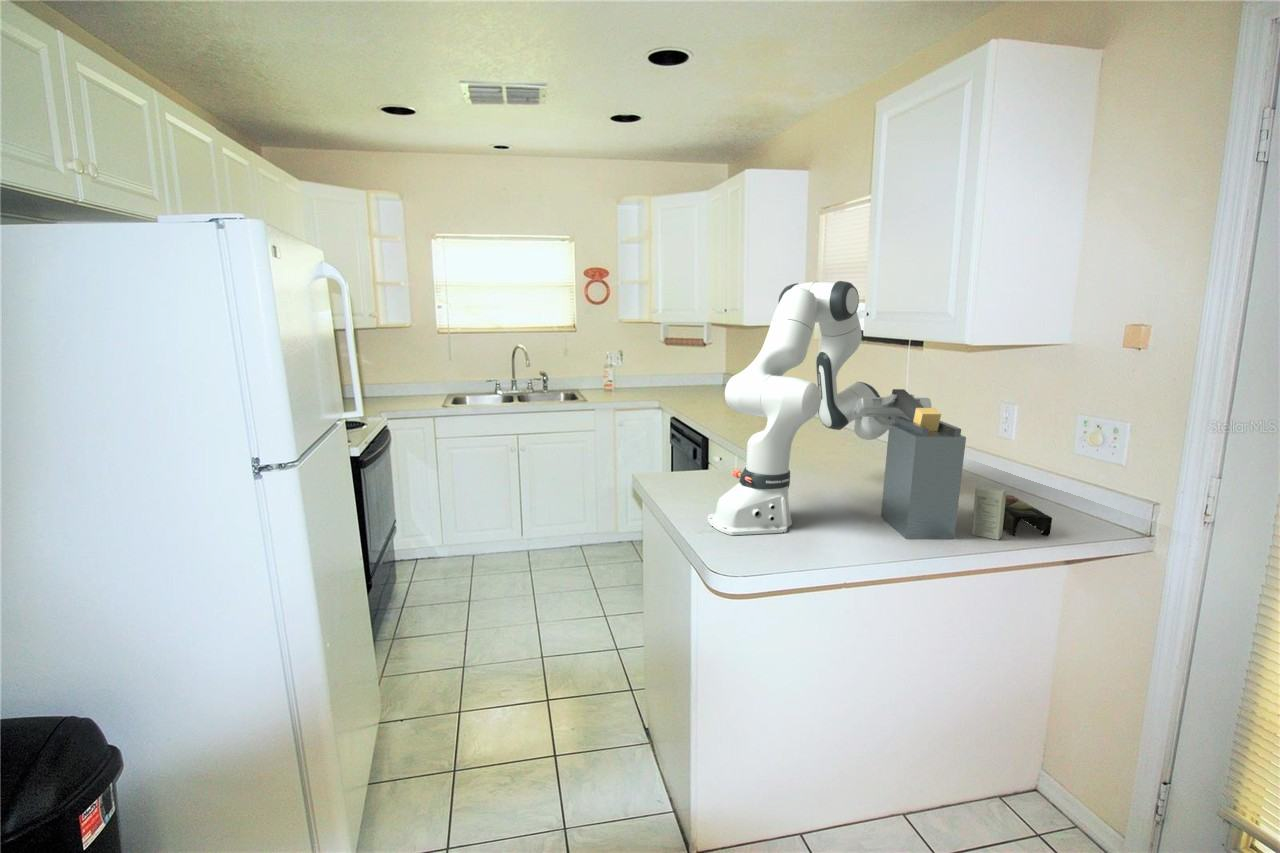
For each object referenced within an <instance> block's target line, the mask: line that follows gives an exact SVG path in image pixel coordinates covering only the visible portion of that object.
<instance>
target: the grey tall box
mask: <svg viewBox="0 0 1280 853" xmlns="http://www.w3.org/2000/svg"><path fill="white" fill-rule="evenodd" d="M966 443H967V437H966V436H964V435H962V428H959V427H957V426H956V425H953V424H950V423H947V422H946V421H945V422H944V421H943V420H940V422H939V426H938V431H929V428H927V427H924V426H922V425H920V424H917V423H915V422H913V421H910V420H908V419H906V418H903V417H901V416H895V424H889V430H888V436H887V447H886V459H885V469H884V478H883V490H882V491H883V492H882V502H881V510H880V511H881V512H880V518H881V519H883V520H884V522H886V523H887V524H888V525H889V526H891V527H892V528H893V529H894V530H895V531H896V532H898V533H899V535H901V536H902V537H903V538H904V539H906V540H955V536H956V535H955V534H956V526H957V517H958V511H959V501H960V500H959V499H960V492H961V483H962V478H963V477H962V475H963V469H964V468H963V467H964V459H965V449H966Z"/></svg>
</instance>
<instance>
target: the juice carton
mask: <svg viewBox="0 0 1280 853" xmlns="http://www.w3.org/2000/svg"><path fill="white" fill-rule="evenodd" d="M1022 519H1023V520H1024V521H1026V522H1028V523H1029V524H1031V525H1032V526H1034V527H1035V529H1036V530H1037V529H1038V530H1037V531H1039V530H1040V531H1042V532H1041V533H1040V536H1045V537H1050V534H1051V529H1052V521H1053V517H1052V516H1050V515H1048V514H1045V513H1044V512H1043V511H1041V510H1039V509H1037V508H1036V507H1034V506H1032V505H1029V504H1028V503H1026V502H1025V501H1023V500H1021V499H1019V498H1018V497H1016V496H1014V495H1010V494H1006V501H1005V511H1004V521H1003V531H1004V530H1005V531H1006V533H1007V534H1008V533H1009V534H1008V535H1010V536H1011V535H1012V536H1011V537H1014V536H1015V533H1016V530H1017V529H1018V526H1019V523H1020V522H1022ZM1024 521H1023V522H1024ZM1026 522H1025V523H1026ZM1028 523H1027V524H1028ZM1029 524H1028V525H1029ZM1031 525H1030V526H1031ZM1032 526H1031V527H1032ZM1005 531H1004V532H1005ZM1040 531H1039V532H1040Z"/></svg>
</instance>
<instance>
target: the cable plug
mask: <svg viewBox="0 0 1280 853" xmlns="http://www.w3.org/2000/svg"><path fill="white" fill-rule="evenodd" d="M891 394H897V395H898V396H897V397H898V400H897V401H896V402H893V403H894V404H895V405H896V406H897V407H898V408H899V409H900V410H901V411H902V412H903V413H904V414H905V415H906V416H907V417H908V418H909V419H910V420H911V421H913V422H915V423H917V424H920V425H922V426H924V427H927V428H929V431H938V426H939V422H940V421H941V417H942V413H940V412H939V411H938V410H937V409H936V408H935V407H932V408H924V407H923V406H922V405H921V404H920V403H919V402H918V401H916V400H915V399H914V398H913V397H912V396H911V395H910V393H909V392H907V390H905V388H902V389H899V388H893V389H892V391H891Z"/></svg>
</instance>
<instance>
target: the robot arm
mask: <svg viewBox="0 0 1280 853" xmlns="http://www.w3.org/2000/svg"><path fill="white" fill-rule="evenodd" d="M778 296H779V298H778V303H777V306H776V308H775V310H774V313H773V316H772V319H771V322H770V325H769V329H768V331H767V335H766V337H765V340H764V342H763V346H762V347H761V348H760V349H761V350H760V351H759V352H758V354H757V356H756V357H755V359H753V361H752V362H751V363H750V364H749V365H748V366H747V367H746V368H744V369H743V370H741V371H740V372H738V373H737V374H735V375H733V376H731V378H729V380H728V381H727V382H726V385H725V388H724V399H725V403H726V405H727V407H728V408H730V410H733V411H735V412H737V413H740V414H743V415H747V416H755V417H759V418H760V417H761V418H767V421H766V422H767V423H766V426H765V428H764V429H762V430H760V431H757V432H755V433H754V434H752V435H751V436H750V437H749V439H748V441H747V443H746V461H745V467H744V469H743V471H741V470H739V469H734V470H733V471H732V473H731V474H732V476H733V478H736V479H739V480H738V481H739V482H738V483H737V484H735V485H733V487H731V488H730V489H729V490H728V491H726V492H725V493H723V495H721V496H720V497H719V498H718V501H717V503H716V509H715V512H714V513H709V514H708V515H707V518H706V521H707V523H708V522H709V523H708V524H709V525H710V526H711V527H712V526H713V527H712V528H714V529H715V530H718V532H721V533H723V534H726V535H730V536H741V535H742V536H743V535H746V536H747V535H762V534H765V535H767V534H778V533H779V534H780V533H782V534H783V532H784V533H787V531H788V528H789V527H791V526H792V524H793V521H792V516H791V511H790V502H789V501H790V498H789V488H790V484H791V470H790V461H791V460H790V457H791V451H792V444H793V440H794V438H795V436H796V434H797V432H798V431H799V430H800V428H802V426H803V425H804V424H806V423H807V422H808V421H810V420H811V419H813V418H814V417H815V416H816V415H817V414H818V418H819V420H820V422H821V423H822V425H823V426H825V427H826V428H828V429H831V430H835V431H836V430H837V431H840V430H843V429H844V428H845V427H846V426H847V425H849V424H850V423H851V422H853V421H854V427H853V428H854V429H853V430H854V433H855V435H856V436H857V437H858V438H860V439H862V440H864V441H865V440H866V441H871V440H872V441H873V440H875V439H878V438H880V437H881V436H883V435H884V434H886V433H887V431H889V424H895V416H901V417H903V418H906V419H908V420H910V419H909V418H908V417H907V416H906V415H905V414H904V413H903V412H902V411H901V410H900V409H899V408H898V407H897V406H896V405H895V404H894V403H893V402H896V401H897V400H898V397H897V396H898V395H897V394H892V393H891V394H890V395H888V396H886V397H884V396H883V397H882V396H880V394H879V392H878V391H877V390H876V389H875V387H873V385H870V384H868V383H866V382H863V381H862V382H861V381H856V382H854V383H852V384H851V385H849V386H848V387H846V388H844V389H842V390H841V391H839V392H838V385H837V377H838V374H839V372H840V371H841V370H840V369H841V368H842V366H844V365H845V363H846V362H847V361H848V360H849V359H850V358H851V357H852V356H853V355H854V354H855V352H857V350H858V348H859V347H860V345H861V342H862V335H863V334H862V327H861V323H860V319H859V315H858V312H857V311H858V308H859V302H860V296H859V292H858V289H857V288H856V286H854V284H853V283H851V282H849V281H844V280H843V281H842V280H838V281H818V280H816V281H815V280H814V281H807V282H806V281H805V282H803V283H798V282H797V283H791V284H789V285H787V286H786V287H784V288H783V290H782V291H781V292H780V294H779V295H778ZM816 323H818V325H819V326H818V327H819V330H820V331H819V332H820V334H821V344H820V345H821V346H820V350H819V353H818V355H817V357H816V361H815V362H816V366H815V367H816V380H817V384H816V383H814V382H812V381H810V380H806V379H804V378H799V377H795V376H784V374H785V373H787V372H788V371H790V370H792V369H794V368H796V367H798V366H800V365H801V364H802V363H803V362H804V360H805V359H806V357H807V354H808V351H809V348H810V347H809V346H810V343H811V340H812V336H813V333H814V329H815V325H816ZM909 394H910V393H909ZM910 395H911V396H912V397H913V398H914V399H915V400H916V401H918V402H919V403H920V404H921V405H922V406H923V407H924V408H933V407H932V402H931V399H930V398H929V397H915V396H916V395H915V394H910ZM910 421H911V420H910Z"/></svg>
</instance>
